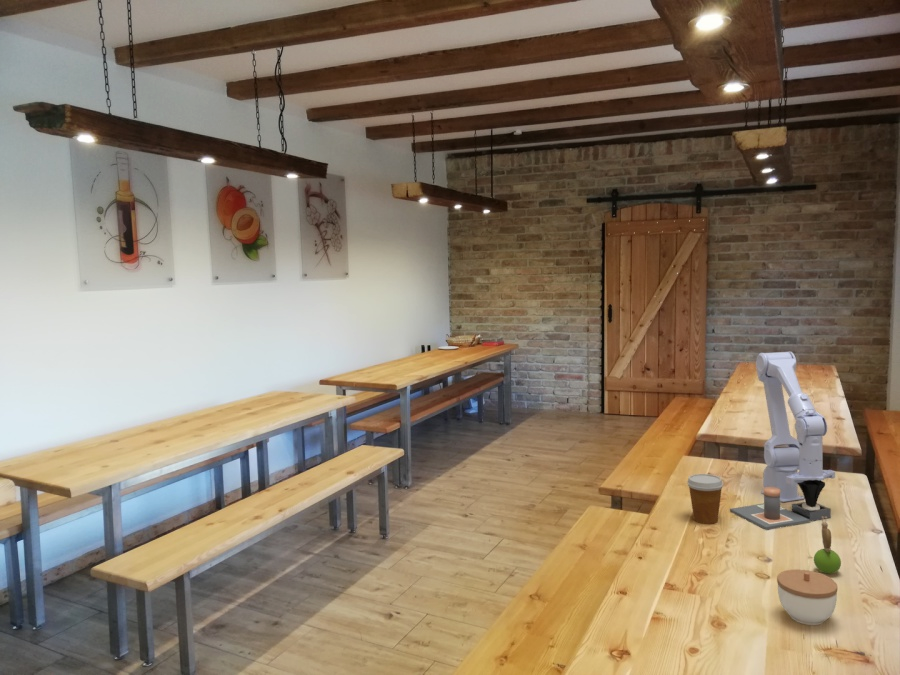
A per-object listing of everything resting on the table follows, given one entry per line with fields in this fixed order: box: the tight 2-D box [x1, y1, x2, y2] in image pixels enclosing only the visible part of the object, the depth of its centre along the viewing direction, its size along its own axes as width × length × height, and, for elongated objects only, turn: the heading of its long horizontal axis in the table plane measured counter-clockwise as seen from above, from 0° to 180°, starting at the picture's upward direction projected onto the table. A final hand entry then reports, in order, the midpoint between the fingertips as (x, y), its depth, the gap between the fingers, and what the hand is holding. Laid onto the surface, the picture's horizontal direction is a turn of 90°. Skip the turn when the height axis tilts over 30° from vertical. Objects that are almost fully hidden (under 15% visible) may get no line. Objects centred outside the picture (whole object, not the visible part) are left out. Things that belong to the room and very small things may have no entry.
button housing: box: [791, 501, 832, 522], centre depth 188 cm, size 7×7×3 cm
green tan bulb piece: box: [813, 516, 842, 574], centre depth 154 cm, size 5×6×12 cm
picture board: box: [729, 502, 811, 531], centre depth 188 cm, size 15×14×1 cm
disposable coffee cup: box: [686, 473, 724, 525], centre depth 188 cm, size 10×10×12 cm
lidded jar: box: [776, 569, 838, 626], centre depth 135 cm, size 11×11×9 cm
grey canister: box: [762, 487, 781, 520], centre depth 185 cm, size 4×4×8 cm
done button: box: [802, 502, 820, 511], centre depth 187 cm, size 4×4×2 cm
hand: (810, 505), depth 187 cm, fingers closed, pressing on done button
